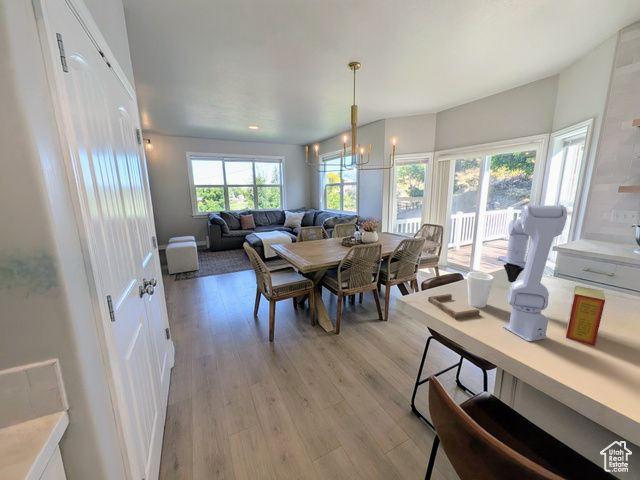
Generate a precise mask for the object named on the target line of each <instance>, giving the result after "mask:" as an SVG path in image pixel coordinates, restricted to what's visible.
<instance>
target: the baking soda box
mask: <svg viewBox="0 0 640 480" xmlns="http://www.w3.org/2000/svg"><path fill="white" fill-rule="evenodd" d="M605 304H606V297H605V292H604V290H600V289H595V288H590V287H585V286H579V285H575V286H574V291H573V296H572V301H571V307H570V311H569V316H568V321H567V327H566V333H565V335H566V336H565V339H569V340H572V341H575V342H579V343H583V344H585V345H589V346H593V347H595V346H596V341H597V339H598V333H599V328H600V325H601V320H602V316H603V312H604V308H605Z"/></svg>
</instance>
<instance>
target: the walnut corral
mask: <svg viewBox="0 0 640 480" xmlns="http://www.w3.org/2000/svg"><path fill="white" fill-rule="evenodd" d="M427 298H428V302H429V303H430V304H431V305H433V306H435V307H436V308H438V309H439V310H441V311H442V312H443V313H445V314H447V315H448V316H450V317H451V318H452V319H454V320H459V319H465V318H471V317H477V316H480V313H481V312H480V311H481V310H479V309H470V310H463V311H457V312H456V311H454V310H453V309H451V308H449V306H446V305H445V304H443V303H442V302H441V301H448V300H453V299H452V298H453V295H452V294H451V293H449V294H442V295H441V294H440V295H433V296H428V297H427Z"/></svg>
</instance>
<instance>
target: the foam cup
mask: <svg viewBox="0 0 640 480" xmlns="http://www.w3.org/2000/svg"><path fill="white" fill-rule="evenodd" d="M494 280H495V278H494V276H493V275H491V274H489V273H487V272H486V273H485V272H480V271H470V272H467V273H466V281H467V302H468V304H469V305H470V306H471V307H475V308H485V307H486V306H487V303H488V299H489V296H490V293H491V289H492V285H493V283H494Z"/></svg>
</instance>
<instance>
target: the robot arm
mask: <svg viewBox="0 0 640 480" xmlns="http://www.w3.org/2000/svg"><path fill="white" fill-rule="evenodd" d="M567 210H568V209H567V207H565V205H563V204H560V205H547V204H546V205H542V204H541V205H537V204H534V205H533V204H532V205H531V204H525V205H523V206H522V208H521V211H520V216H519V217H518V218H517V219H516V220H513V219H511V220H510V221H509V224H508V235H509V239H508V244H507V252H506V256H503V255H497V257H496V261H498V262H503V263H504V264H503V268H504V269H505V272H506V276H507V280H508V282H509V283H511V284H510V287H509V288H508V289H507V290H508V291H507V302H508V304H509V305H510V306H511V309H510V311H511V312H510V318H509V323H508V324H504V325H502V328H504V329H505V330H507V331H509V332H511V333H513V334H514V335H516V336H518V337H520V338H522V339H523V340H525V341H527V342H532V341H534V342H535V341H538V340H543V339H547V338H548V337H547V335H546V334H547V330H548V325H549V319H548V317H547V316H546V315H545V314H542V311H545V310H546V309H547V308H548V305H549V296H550V293H549V290H548V288H547V287H546V286H545V285H544V284H543V283H541V282H542V280H543V279H542V278H543V275H544V271H545V267H546V264H547V261H548V257H549V253H550V252H551V251H550V250H551V247H552V244H553V241H554V239H555V237H559V236H561V235H562V234H563V231H564V230H565V226H566V223H567V221H568V220H567V219H568V211H567ZM529 238H530V239H529ZM529 240H530V245H529V249H528V253H527V256H526V251H527V250H526V249H527V242H528V241H529ZM525 257H526V261H525ZM522 272H523V273H522ZM521 273H522V278H521V279H518V277H519V276H520V274H521ZM517 279H518V280H517Z"/></svg>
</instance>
